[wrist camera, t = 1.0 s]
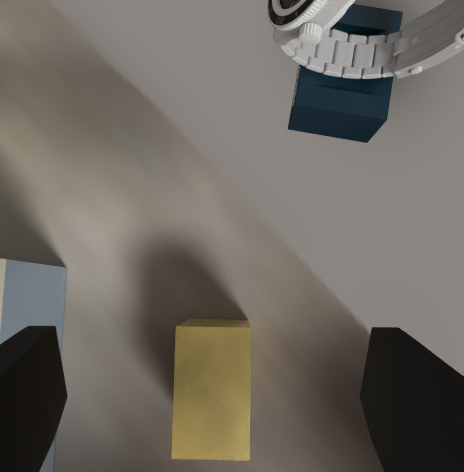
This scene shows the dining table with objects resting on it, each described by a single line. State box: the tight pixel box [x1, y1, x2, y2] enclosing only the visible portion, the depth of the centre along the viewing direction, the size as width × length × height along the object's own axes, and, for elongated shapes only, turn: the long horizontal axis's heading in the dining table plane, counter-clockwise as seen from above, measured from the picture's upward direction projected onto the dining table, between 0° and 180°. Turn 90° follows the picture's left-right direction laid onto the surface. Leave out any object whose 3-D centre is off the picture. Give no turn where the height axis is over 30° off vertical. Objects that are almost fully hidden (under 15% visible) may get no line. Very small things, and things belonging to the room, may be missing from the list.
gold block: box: [171, 319, 251, 461], centre depth 19 cm, size 5×3×5 cm, turn 179°
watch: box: [268, 0, 464, 143], centre depth 18 cm, size 6×8×11 cm
